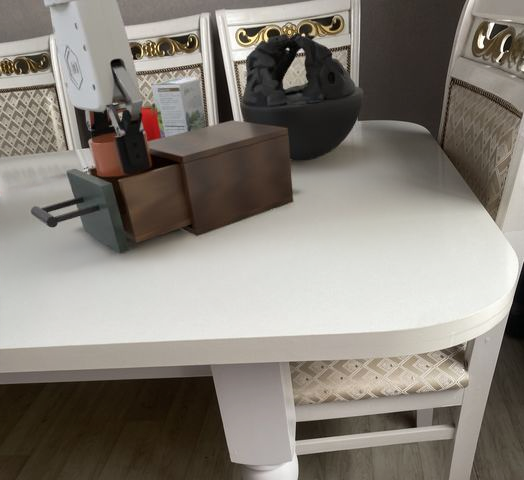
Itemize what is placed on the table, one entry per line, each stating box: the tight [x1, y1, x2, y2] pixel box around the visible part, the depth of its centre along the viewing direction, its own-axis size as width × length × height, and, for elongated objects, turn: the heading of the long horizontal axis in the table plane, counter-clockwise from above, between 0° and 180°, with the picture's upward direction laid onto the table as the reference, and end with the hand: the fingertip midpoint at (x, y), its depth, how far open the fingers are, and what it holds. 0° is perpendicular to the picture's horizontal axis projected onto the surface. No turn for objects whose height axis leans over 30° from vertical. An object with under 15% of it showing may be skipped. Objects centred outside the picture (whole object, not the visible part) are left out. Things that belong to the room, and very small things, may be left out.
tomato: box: [141, 103, 161, 141], centre depth 98 cm, size 12×12×10 cm
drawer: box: [30, 154, 192, 255], centre depth 64 cm, size 21×11×8 cm, turn 127°
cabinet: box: [148, 119, 294, 237], centre depth 70 cm, size 16×13×10 cm
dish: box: [87, 131, 152, 178], centre depth 62 cm, size 7×7×4 cm
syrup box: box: [151, 76, 207, 138], centre depth 88 cm, size 6×6×14 cm
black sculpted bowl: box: [239, 32, 364, 162], centre depth 86 cm, size 20×20×19 cm
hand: (123, 165), depth 62 cm, fingers closed on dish, 6 cm apart
